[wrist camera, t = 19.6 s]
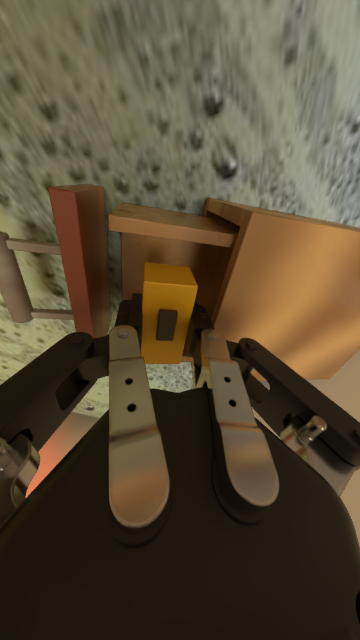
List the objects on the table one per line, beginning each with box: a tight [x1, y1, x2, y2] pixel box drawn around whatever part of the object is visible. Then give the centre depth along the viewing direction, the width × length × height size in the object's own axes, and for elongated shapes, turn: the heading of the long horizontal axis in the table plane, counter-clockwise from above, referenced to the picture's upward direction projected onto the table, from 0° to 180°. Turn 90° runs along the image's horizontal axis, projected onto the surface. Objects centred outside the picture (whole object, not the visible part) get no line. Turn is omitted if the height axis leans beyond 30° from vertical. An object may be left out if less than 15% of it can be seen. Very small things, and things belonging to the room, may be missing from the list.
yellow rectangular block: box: [141, 262, 198, 364], centre depth 12 cm, size 7×3×3 cm, turn 171°
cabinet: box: [191, 198, 360, 380], centre depth 19 cm, size 16×14×9 cm
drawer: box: [0, 184, 240, 362], centre depth 16 cm, size 20×13×7 cm, turn 81°
